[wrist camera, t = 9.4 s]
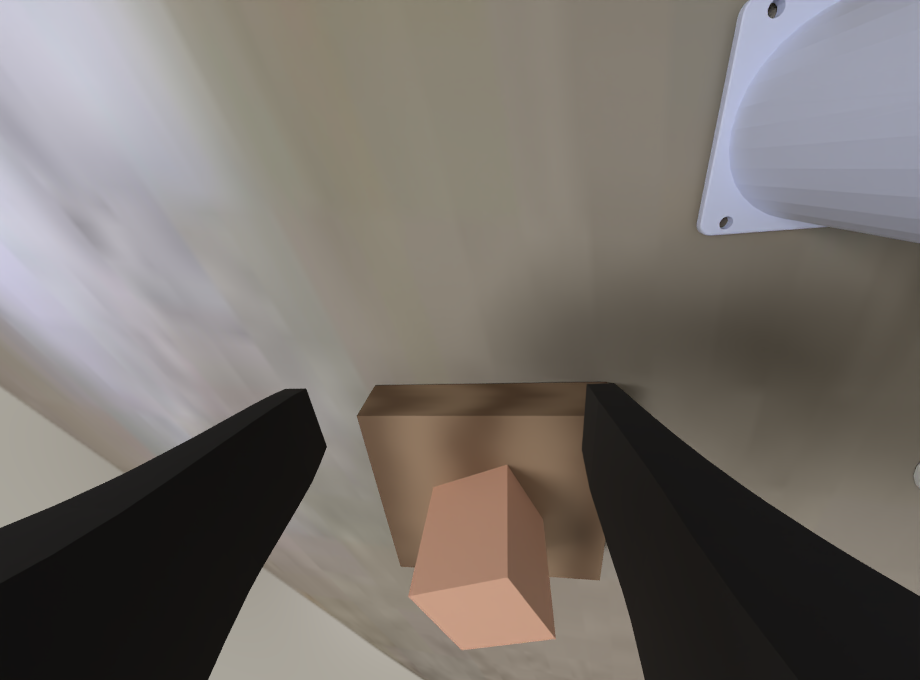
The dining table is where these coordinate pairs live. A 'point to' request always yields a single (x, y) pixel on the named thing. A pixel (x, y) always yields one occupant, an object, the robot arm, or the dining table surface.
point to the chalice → (917, 476)
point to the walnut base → (486, 458)
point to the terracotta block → (484, 563)
